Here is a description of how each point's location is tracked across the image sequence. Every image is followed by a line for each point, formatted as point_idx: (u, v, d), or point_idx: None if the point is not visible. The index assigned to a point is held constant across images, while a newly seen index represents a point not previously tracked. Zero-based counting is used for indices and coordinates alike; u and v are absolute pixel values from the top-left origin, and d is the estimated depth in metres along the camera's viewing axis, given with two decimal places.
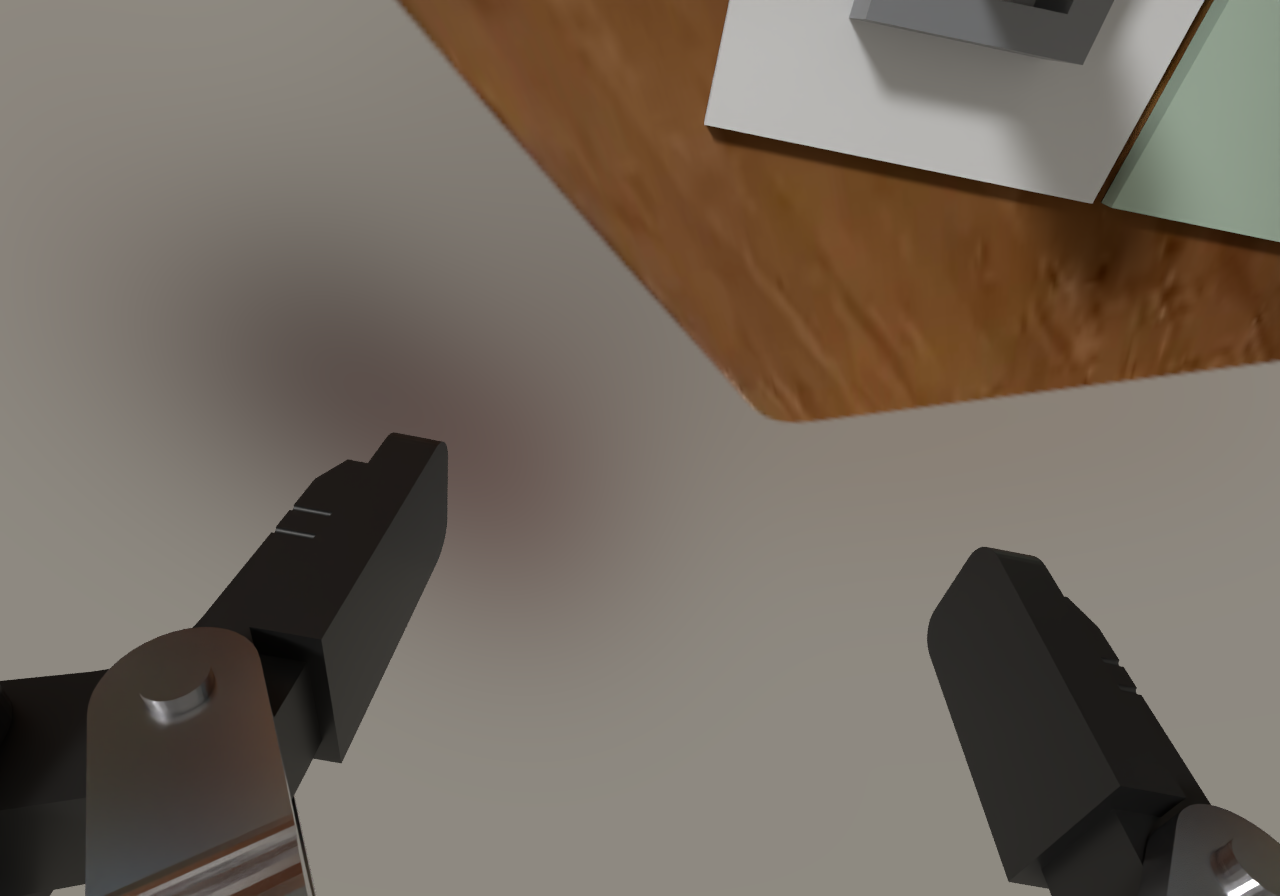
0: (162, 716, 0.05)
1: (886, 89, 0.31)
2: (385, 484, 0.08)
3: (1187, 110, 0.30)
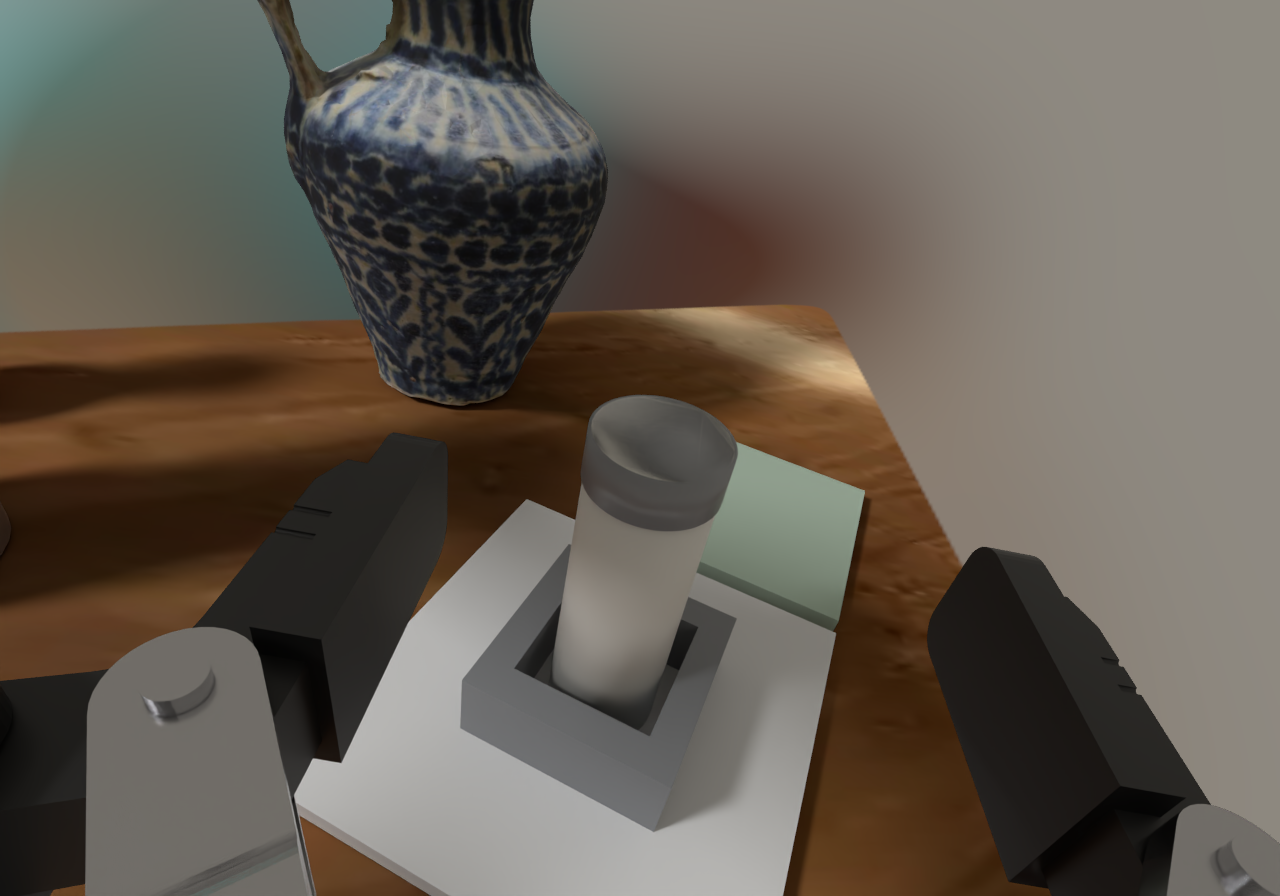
0: (162, 716, 0.05)
1: (727, 799, 0.28)
2: (385, 484, 0.08)
3: (765, 578, 0.39)
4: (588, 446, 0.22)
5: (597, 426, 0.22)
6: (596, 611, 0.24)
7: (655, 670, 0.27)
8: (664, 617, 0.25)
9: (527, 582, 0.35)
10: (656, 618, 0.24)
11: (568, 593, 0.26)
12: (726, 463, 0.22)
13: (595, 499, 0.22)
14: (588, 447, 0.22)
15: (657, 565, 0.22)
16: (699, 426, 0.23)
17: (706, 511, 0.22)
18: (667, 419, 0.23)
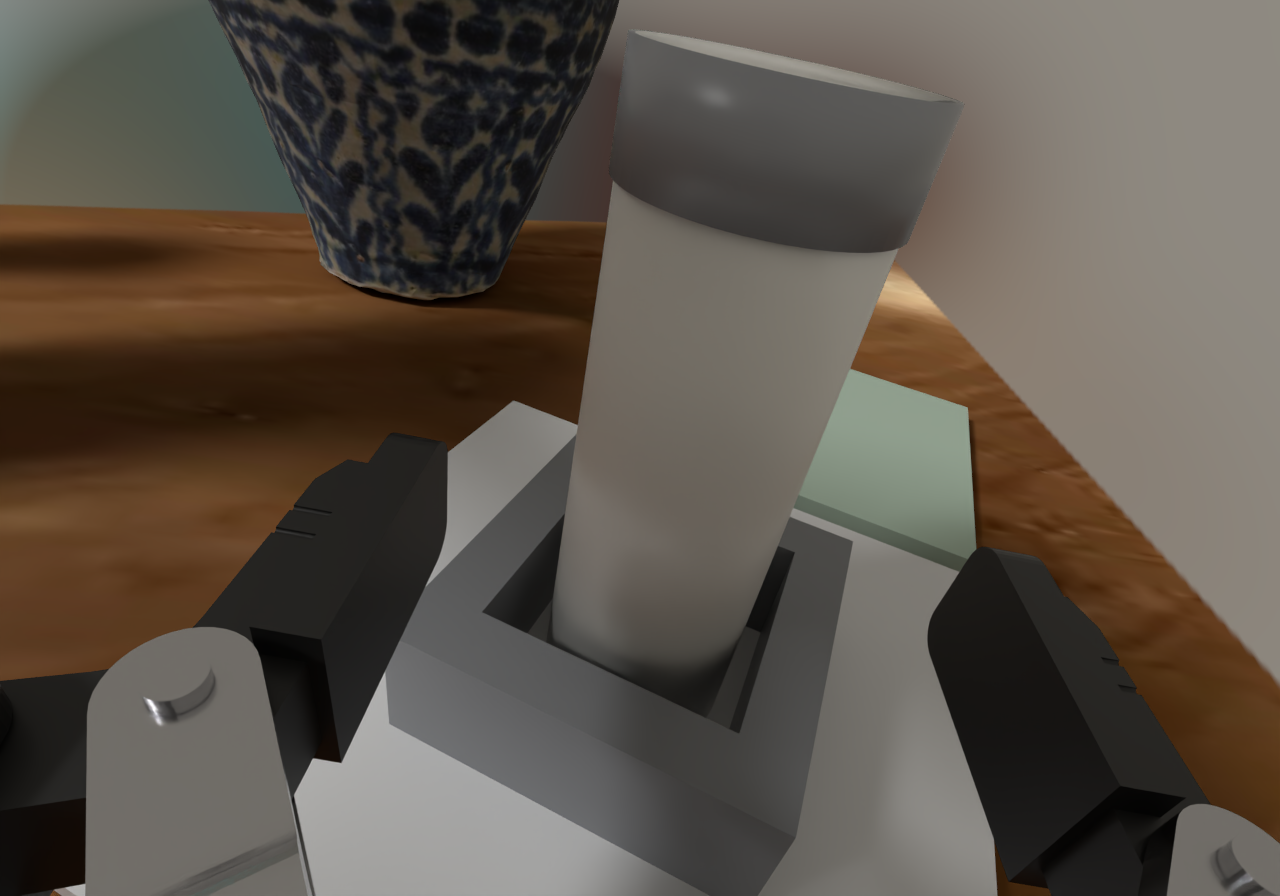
0: (162, 716, 0.05)
1: (868, 847, 0.15)
2: (385, 484, 0.08)
3: (861, 505, 0.27)
4: (629, 67, 0.10)
5: (649, 35, 0.10)
6: (640, 481, 0.12)
7: (741, 612, 0.15)
8: (775, 496, 0.12)
9: None
10: (760, 494, 0.12)
11: (581, 460, 0.13)
12: (947, 100, 0.09)
13: (647, 190, 0.10)
14: (630, 67, 0.09)
15: (781, 354, 0.10)
16: (859, 75, 0.11)
17: (902, 214, 0.09)
18: (790, 61, 0.11)
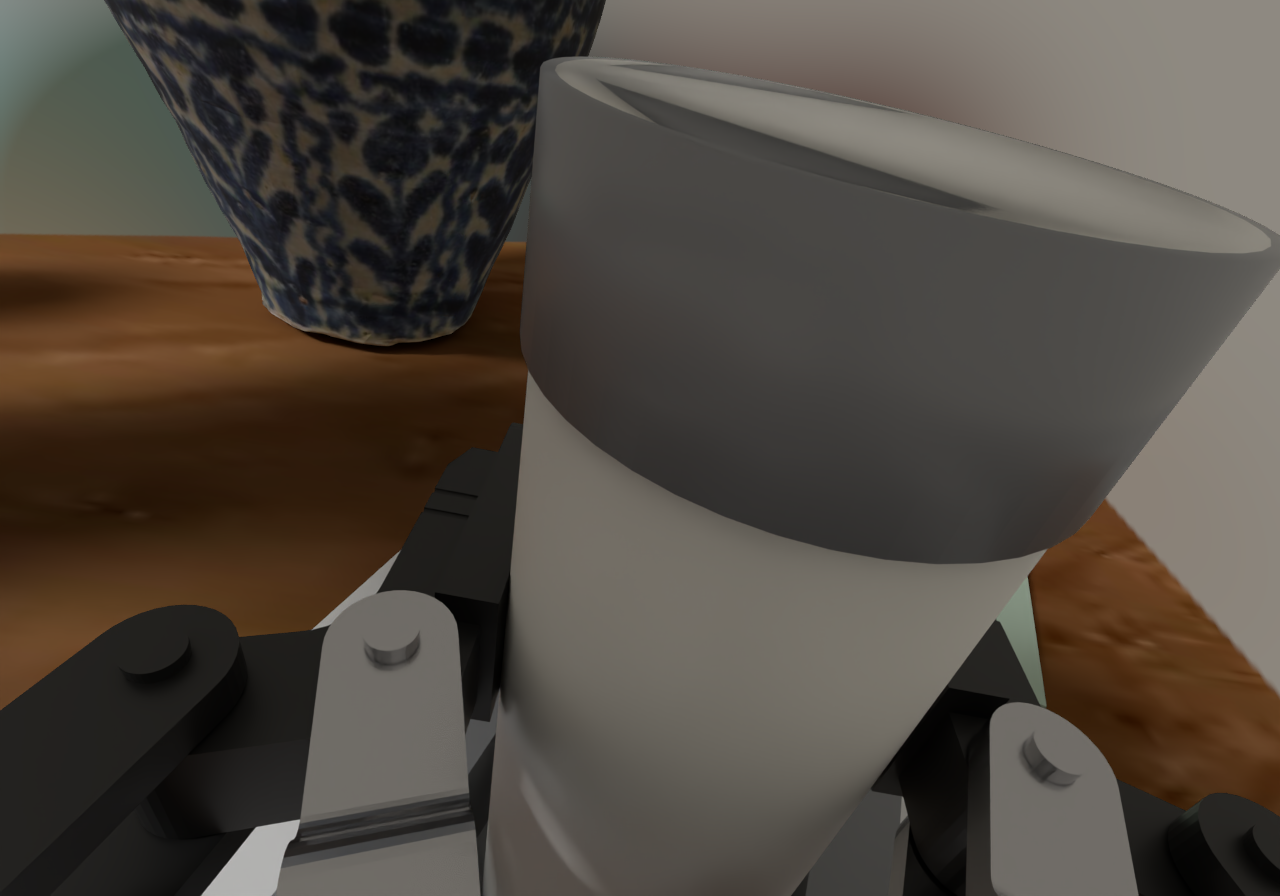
0: (387, 665, 0.06)
1: None
2: (519, 468, 0.09)
3: None
4: (537, 146, 0.04)
5: (586, 72, 0.05)
6: (589, 834, 0.07)
7: None
8: (821, 844, 0.07)
9: None
10: (798, 856, 0.07)
11: (503, 744, 0.08)
12: (1232, 221, 0.04)
13: (577, 408, 0.04)
14: (540, 145, 0.04)
15: (852, 708, 0.05)
16: (991, 141, 0.06)
17: (1128, 465, 0.04)
18: (864, 114, 0.06)
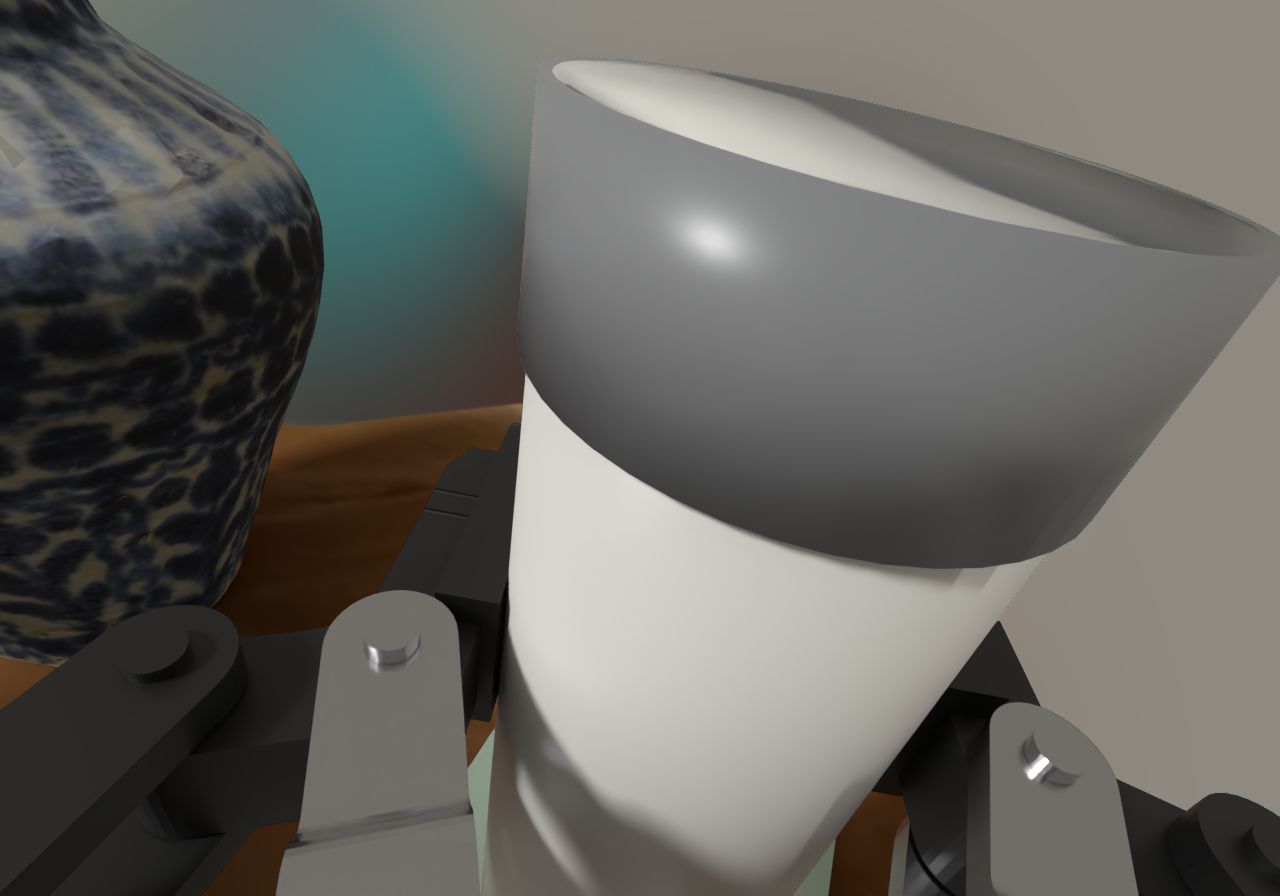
0: (387, 665, 0.06)
1: None
2: None
3: None
4: (535, 147, 0.04)
5: (583, 73, 0.05)
6: (587, 838, 0.07)
7: None
8: (820, 849, 0.07)
9: None
10: (797, 860, 0.07)
11: (501, 747, 0.08)
12: (1234, 222, 0.04)
13: (574, 411, 0.04)
14: (537, 147, 0.04)
15: (852, 711, 0.05)
16: (992, 142, 0.06)
17: (1128, 468, 0.04)
18: (864, 114, 0.06)
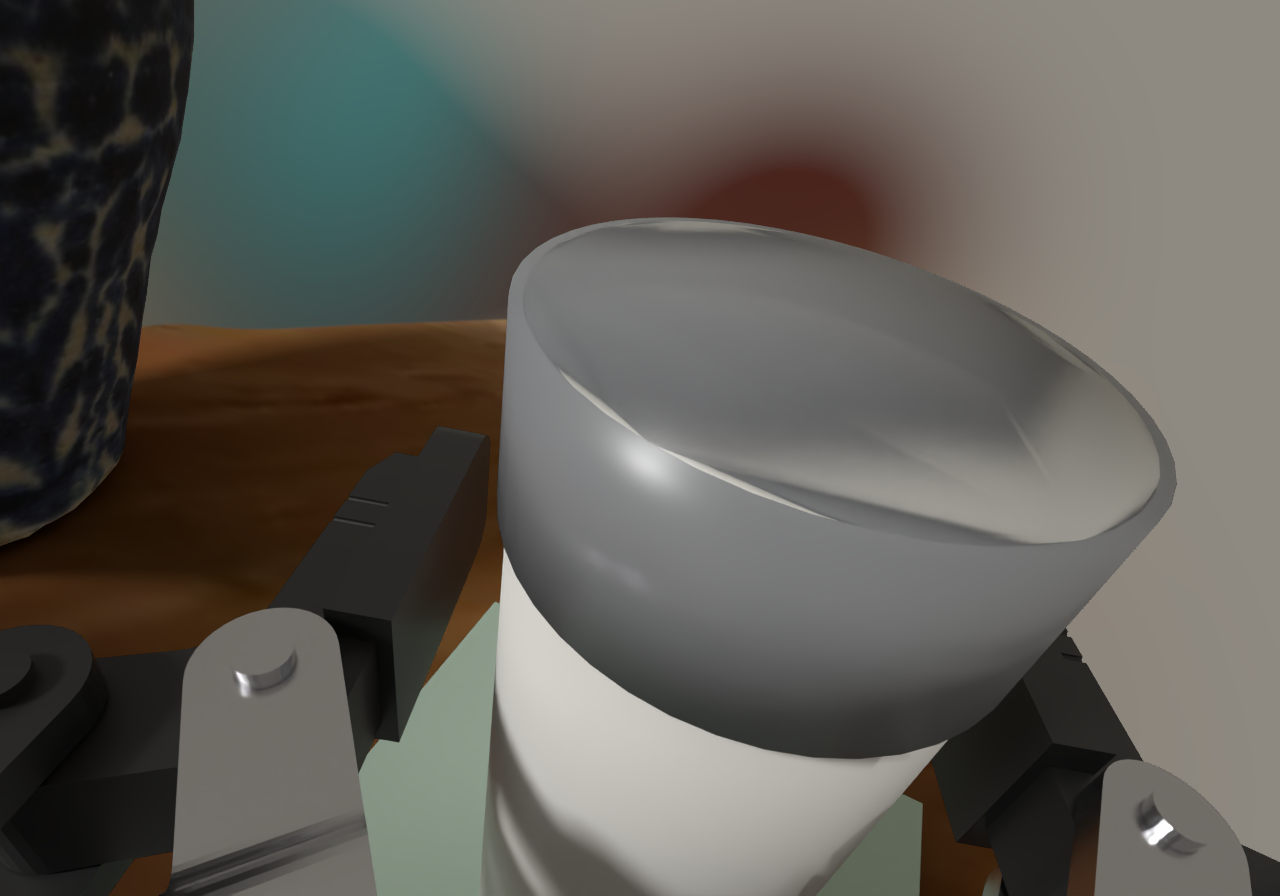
0: (253, 689, 0.05)
1: None
2: (437, 475, 0.08)
3: None
4: (507, 367, 0.05)
5: (552, 285, 0.05)
6: None
7: None
8: None
9: None
10: None
11: (490, 824, 0.09)
12: (1135, 440, 0.05)
13: (543, 600, 0.05)
14: (508, 370, 0.05)
15: (797, 846, 0.06)
16: (937, 308, 0.06)
17: (1038, 656, 0.05)
18: (819, 281, 0.06)
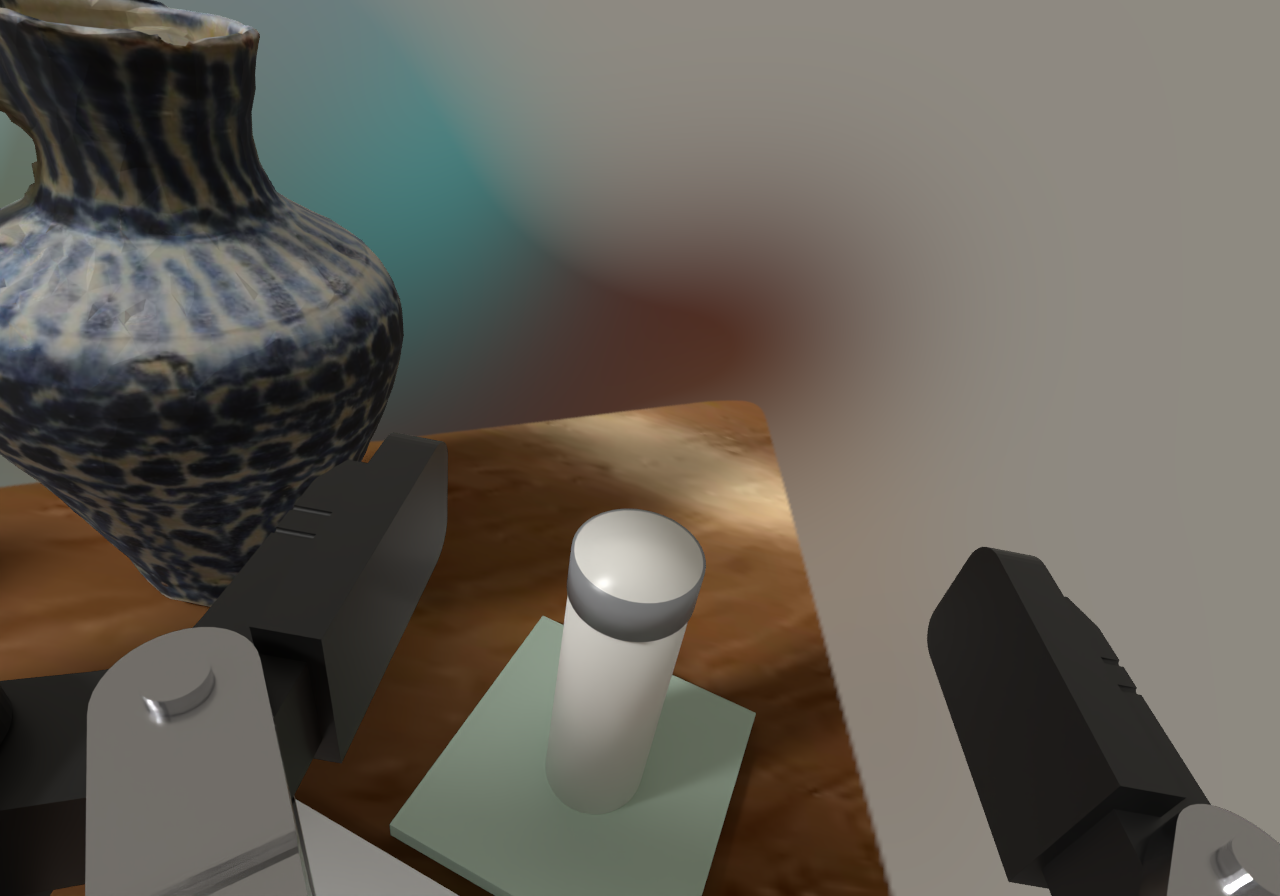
0: (162, 716, 0.05)
1: None
2: (385, 484, 0.08)
3: None
4: (571, 566, 0.24)
5: (579, 547, 0.25)
6: (584, 705, 0.27)
7: (641, 751, 0.29)
8: (646, 708, 0.27)
9: None
10: (638, 710, 0.27)
11: (559, 685, 0.28)
12: (694, 579, 0.24)
13: (579, 613, 0.24)
14: (571, 567, 0.24)
15: (636, 668, 0.25)
16: (672, 541, 0.26)
17: (677, 623, 0.24)
18: (643, 534, 0.26)
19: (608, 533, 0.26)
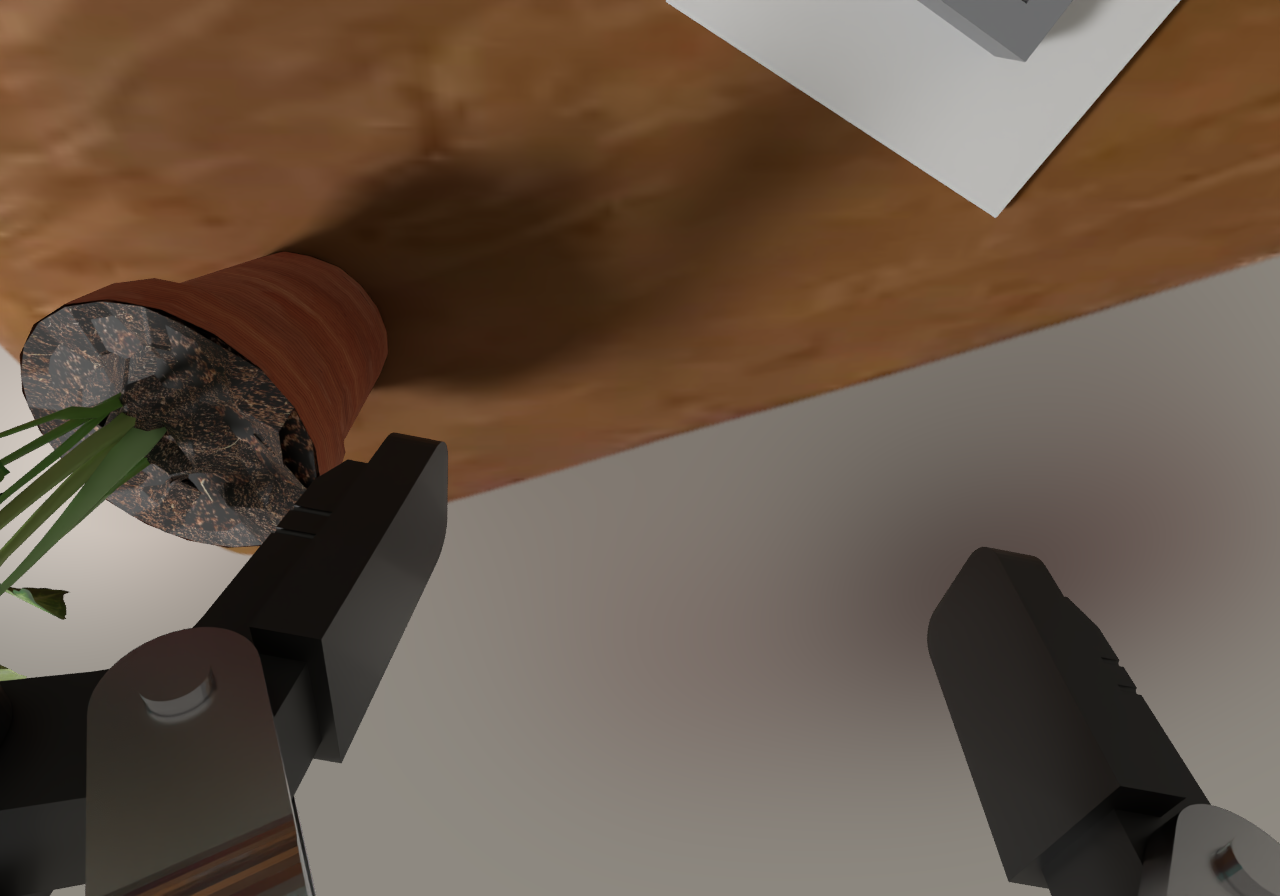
0: (162, 716, 0.05)
1: (1080, 24, 0.29)
2: (385, 484, 0.08)
3: None
4: None
5: None
6: None
7: None
8: None
9: None
10: None
11: None
12: None
13: None
14: None
15: None
16: None
17: None
18: None
19: None
